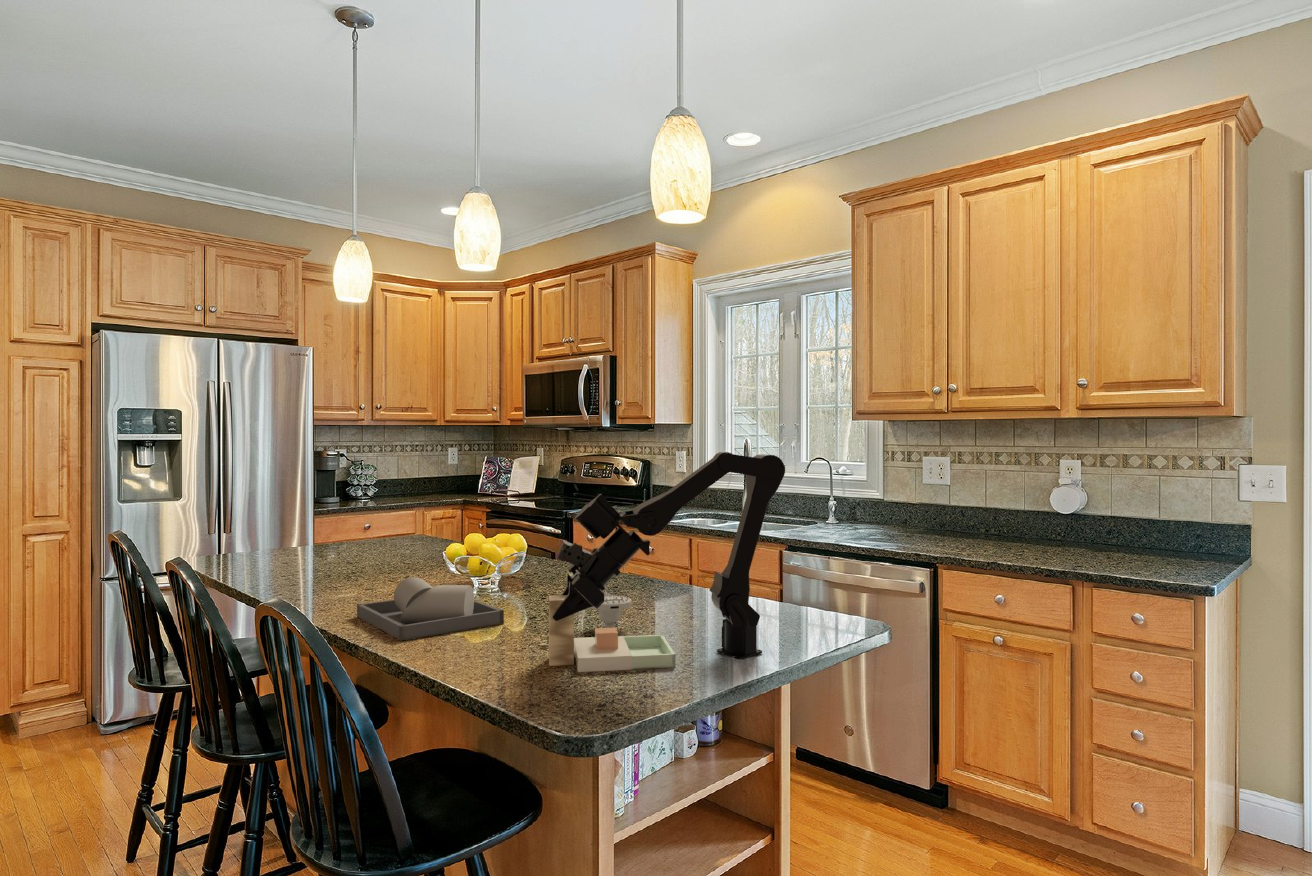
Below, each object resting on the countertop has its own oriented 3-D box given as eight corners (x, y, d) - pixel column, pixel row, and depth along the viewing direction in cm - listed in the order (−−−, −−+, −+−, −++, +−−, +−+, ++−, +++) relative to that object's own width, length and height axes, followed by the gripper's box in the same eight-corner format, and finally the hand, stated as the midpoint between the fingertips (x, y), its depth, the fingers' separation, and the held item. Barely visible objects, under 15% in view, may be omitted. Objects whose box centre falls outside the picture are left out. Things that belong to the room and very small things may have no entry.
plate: (623, 648, 153) (623, 636, 153) (632, 669, 139) (632, 655, 139) (573, 650, 151) (573, 638, 151) (577, 672, 138) (577, 658, 138)
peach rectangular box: (615, 643, 148) (615, 627, 148) (618, 648, 144) (618, 632, 144) (594, 644, 147) (594, 628, 147) (596, 649, 143) (596, 633, 143)
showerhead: (625, 589, 175) (636, 598, 166) (625, 621, 175) (636, 632, 166) (584, 592, 173) (593, 601, 163) (584, 624, 173) (593, 635, 163)
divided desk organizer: (503, 623, 173) (503, 610, 173) (400, 641, 158) (400, 626, 158) (452, 603, 194) (452, 591, 194) (357, 617, 179) (357, 604, 179)
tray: (662, 646, 154) (662, 634, 154) (675, 667, 140) (675, 654, 140) (623, 648, 153) (623, 636, 153) (632, 669, 139) (632, 656, 139)
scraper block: (572, 657, 147) (572, 594, 147) (573, 664, 142) (573, 599, 142) (548, 658, 146) (548, 595, 146) (549, 665, 141) (549, 600, 141)
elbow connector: (369, 623, 167) (461, 624, 166) (374, 574, 169) (464, 574, 169) (398, 622, 184) (481, 622, 184) (401, 577, 186) (483, 577, 186)
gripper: (579, 521, 154) (523, 577, 152) (585, 532, 135) (522, 597, 134) (618, 559, 155) (563, 615, 153) (630, 575, 137) (567, 640, 135)
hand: (553, 616), depth 144 cm, fingers closed on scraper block, 4 cm apart
